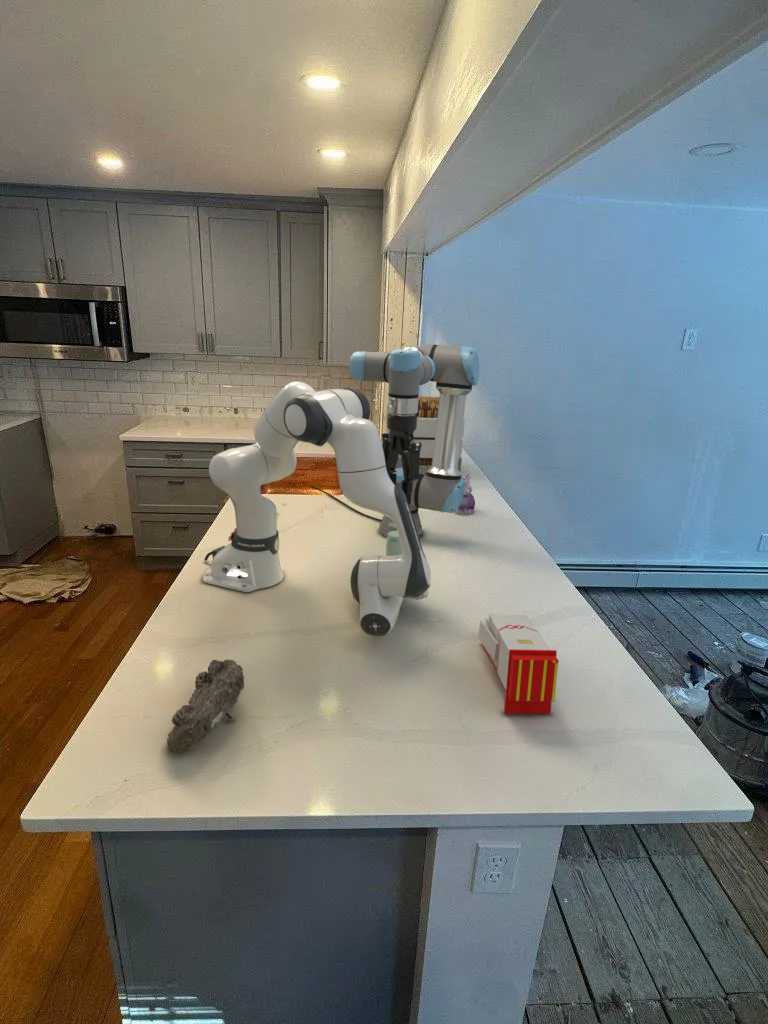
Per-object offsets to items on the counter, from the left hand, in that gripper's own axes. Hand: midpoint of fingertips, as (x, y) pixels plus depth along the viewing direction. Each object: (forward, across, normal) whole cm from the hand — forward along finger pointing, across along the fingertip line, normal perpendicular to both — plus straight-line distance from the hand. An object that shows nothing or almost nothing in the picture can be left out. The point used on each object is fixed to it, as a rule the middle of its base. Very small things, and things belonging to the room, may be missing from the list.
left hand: (394, 570), depth 157 cm
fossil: (-58, +26, +7) cm, 64 cm away
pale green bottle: (-1, 0, +7) cm, 7 cm away
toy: (-31, -31, +7) cm, 44 cm away
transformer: (+124, +6, +7) cm, 124 cm away
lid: (0, 0, -24) cm, 24 cm away
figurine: (+74, -17, +7) cm, 76 cm away
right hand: (0, 0, -20) cm, 20 cm away
